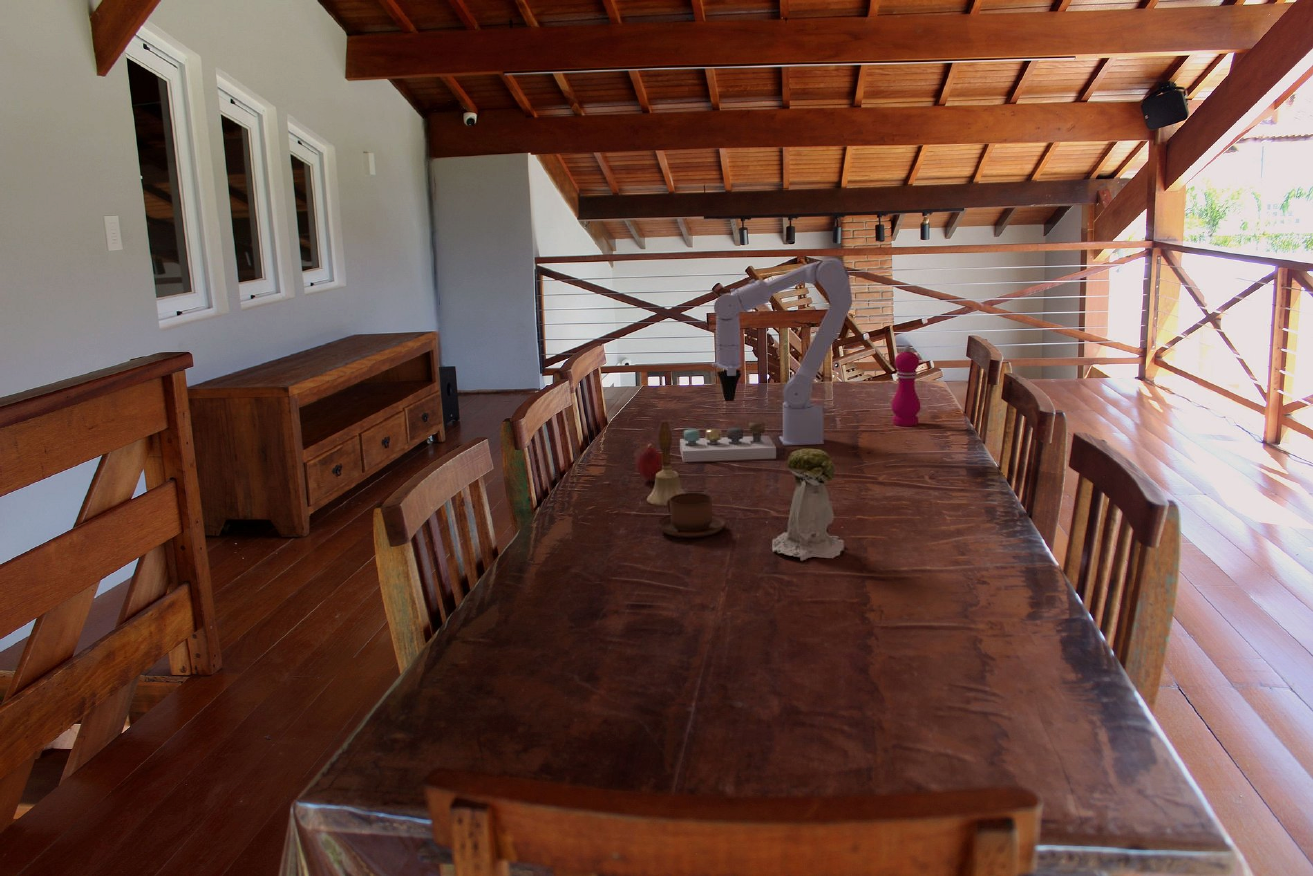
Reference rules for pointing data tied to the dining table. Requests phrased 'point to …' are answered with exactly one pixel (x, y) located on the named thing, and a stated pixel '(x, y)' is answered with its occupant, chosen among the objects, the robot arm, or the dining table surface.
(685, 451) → the console
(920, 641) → the dining table surface
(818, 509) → the moss topped figurine
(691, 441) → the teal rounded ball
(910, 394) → the pepper mill
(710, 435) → the brass dome cap
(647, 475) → the onion
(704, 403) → the dining table surface
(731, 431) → the dark grey rounded knob
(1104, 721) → the dining table surface
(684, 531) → the cup and saucer
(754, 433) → the walnut key
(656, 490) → the hand bell
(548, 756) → the dining table surface
